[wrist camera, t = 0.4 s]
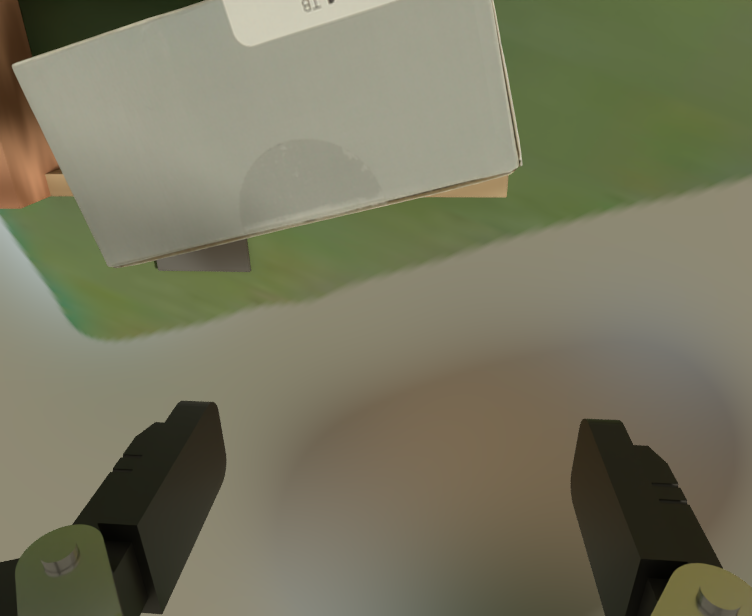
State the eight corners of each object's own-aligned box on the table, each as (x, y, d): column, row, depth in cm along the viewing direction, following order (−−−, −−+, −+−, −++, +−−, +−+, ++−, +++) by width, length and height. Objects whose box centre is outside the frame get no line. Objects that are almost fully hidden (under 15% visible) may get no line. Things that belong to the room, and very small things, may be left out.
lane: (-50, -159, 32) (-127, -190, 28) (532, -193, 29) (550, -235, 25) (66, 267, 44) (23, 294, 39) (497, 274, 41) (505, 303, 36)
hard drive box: (460, -26, 33) (492, -101, 15) (484, 109, 36) (535, 180, 18) (217, 50, 36) (1, 63, 18) (258, 169, 39) (108, 281, 21)
